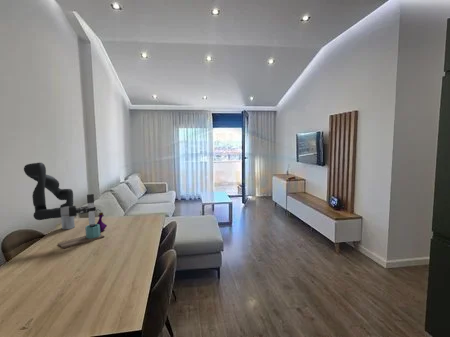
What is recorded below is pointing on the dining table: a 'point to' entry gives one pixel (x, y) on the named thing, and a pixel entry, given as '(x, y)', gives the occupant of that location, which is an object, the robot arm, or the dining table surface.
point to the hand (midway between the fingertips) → (95, 208)
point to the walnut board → (77, 241)
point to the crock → (92, 231)
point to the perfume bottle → (102, 225)
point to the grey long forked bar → (91, 214)
